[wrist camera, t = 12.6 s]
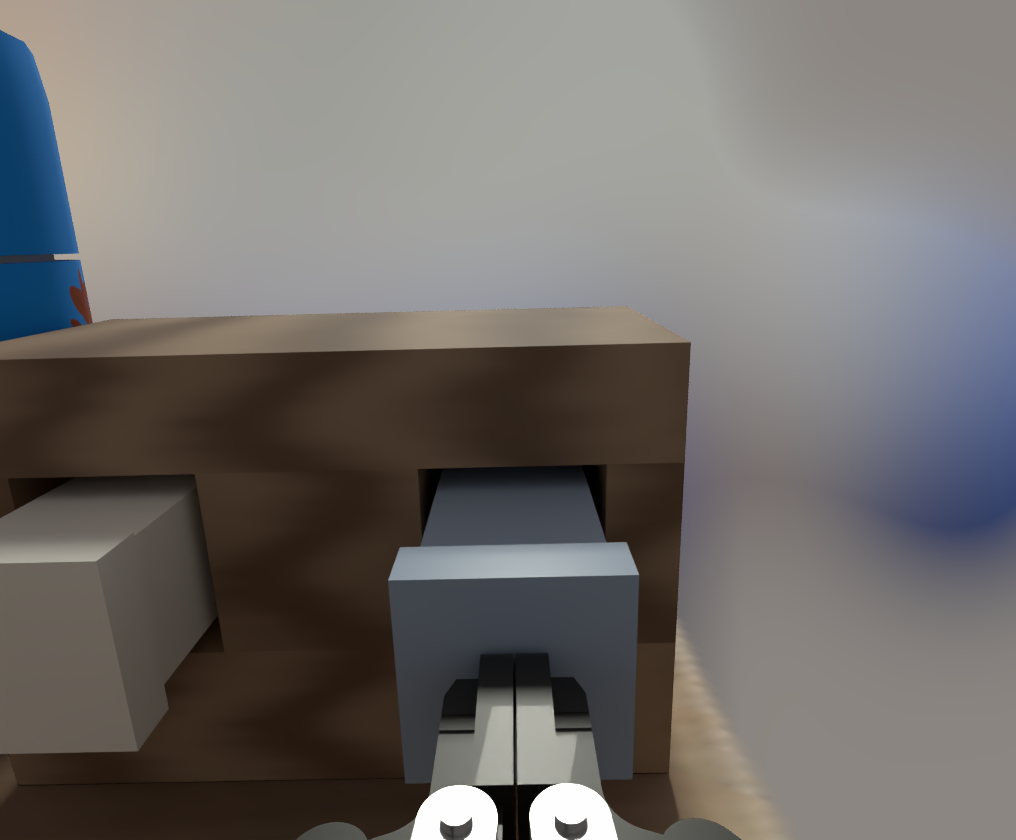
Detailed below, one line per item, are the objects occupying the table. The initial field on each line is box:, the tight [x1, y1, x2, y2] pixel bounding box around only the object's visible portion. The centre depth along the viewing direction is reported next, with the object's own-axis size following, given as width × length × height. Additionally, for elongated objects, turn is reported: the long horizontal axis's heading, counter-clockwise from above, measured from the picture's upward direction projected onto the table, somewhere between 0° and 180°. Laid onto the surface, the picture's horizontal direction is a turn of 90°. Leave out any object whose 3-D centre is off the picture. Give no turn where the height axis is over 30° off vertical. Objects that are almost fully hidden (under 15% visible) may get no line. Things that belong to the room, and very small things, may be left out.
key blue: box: [388, 465, 639, 784], centre depth 20 cm, size 5×12×5 cm, turn 0°
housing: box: [0, 306, 691, 785], centre depth 25 cm, size 22×10×14 cm, turn 90°
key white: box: [0, 474, 218, 754], centre depth 21 cm, size 5×12×5 cm, turn 0°
